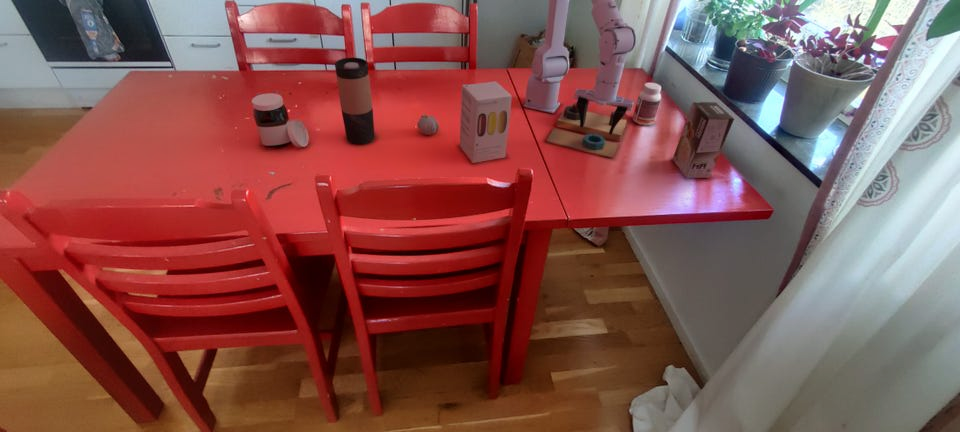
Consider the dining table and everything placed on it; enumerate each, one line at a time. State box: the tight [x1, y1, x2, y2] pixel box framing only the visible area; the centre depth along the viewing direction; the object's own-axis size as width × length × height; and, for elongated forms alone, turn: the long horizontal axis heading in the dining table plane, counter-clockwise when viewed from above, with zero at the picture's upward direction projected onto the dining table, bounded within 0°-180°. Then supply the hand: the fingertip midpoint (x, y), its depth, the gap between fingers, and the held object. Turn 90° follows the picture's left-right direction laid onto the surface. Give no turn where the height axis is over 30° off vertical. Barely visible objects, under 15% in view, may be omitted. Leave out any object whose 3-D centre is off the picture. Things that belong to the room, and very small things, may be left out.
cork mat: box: [545, 128, 619, 159], centre depth 124 cm, size 18×8×1 cm, turn 66°
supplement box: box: [459, 80, 513, 164], centre depth 113 cm, size 10×9×17 cm
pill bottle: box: [632, 82, 662, 126], centre depth 133 cm, size 6×6×11 cm
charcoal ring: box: [563, 105, 580, 121], centre depth 132 cm, size 6×6×2 cm
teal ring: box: [582, 133, 607, 150], centre depth 122 cm, size 6×6×2 cm
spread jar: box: [251, 92, 310, 150], centre depth 113 cm, size 12×11×12 cm
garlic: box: [417, 114, 440, 136], centre depth 123 cm, size 6×5×5 cm
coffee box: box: [672, 101, 735, 179], centre depth 112 cm, size 9×6×16 cm
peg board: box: [555, 102, 628, 142], centre depth 130 cm, size 18×10×6 cm, turn 66°
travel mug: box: [334, 57, 375, 146], centre depth 114 cm, size 8×8×20 cm
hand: (596, 129), depth 120 cm, fingers open, 7 cm apart
